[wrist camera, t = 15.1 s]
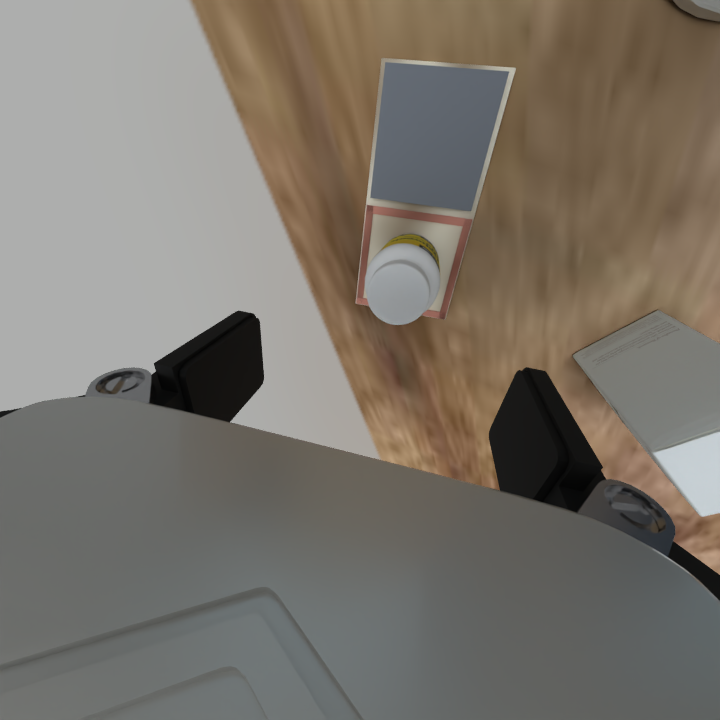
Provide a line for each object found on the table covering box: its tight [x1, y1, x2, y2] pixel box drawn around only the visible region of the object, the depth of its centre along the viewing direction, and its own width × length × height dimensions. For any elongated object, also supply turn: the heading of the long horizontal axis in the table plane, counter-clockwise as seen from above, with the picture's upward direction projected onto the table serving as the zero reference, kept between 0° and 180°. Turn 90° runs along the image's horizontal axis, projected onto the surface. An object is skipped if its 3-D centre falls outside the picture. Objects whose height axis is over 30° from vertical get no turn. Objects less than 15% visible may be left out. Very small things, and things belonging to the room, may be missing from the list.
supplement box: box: [573, 310, 720, 516], centre depth 22 cm, size 7×7×13 cm
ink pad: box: [370, 62, 509, 211], centre depth 22 cm, size 8×8×1 cm
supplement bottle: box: [365, 233, 440, 325], centre depth 23 cm, size 5×5×10 cm
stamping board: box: [356, 58, 516, 320], centre depth 25 cm, size 9×18×1 cm, turn 173°
